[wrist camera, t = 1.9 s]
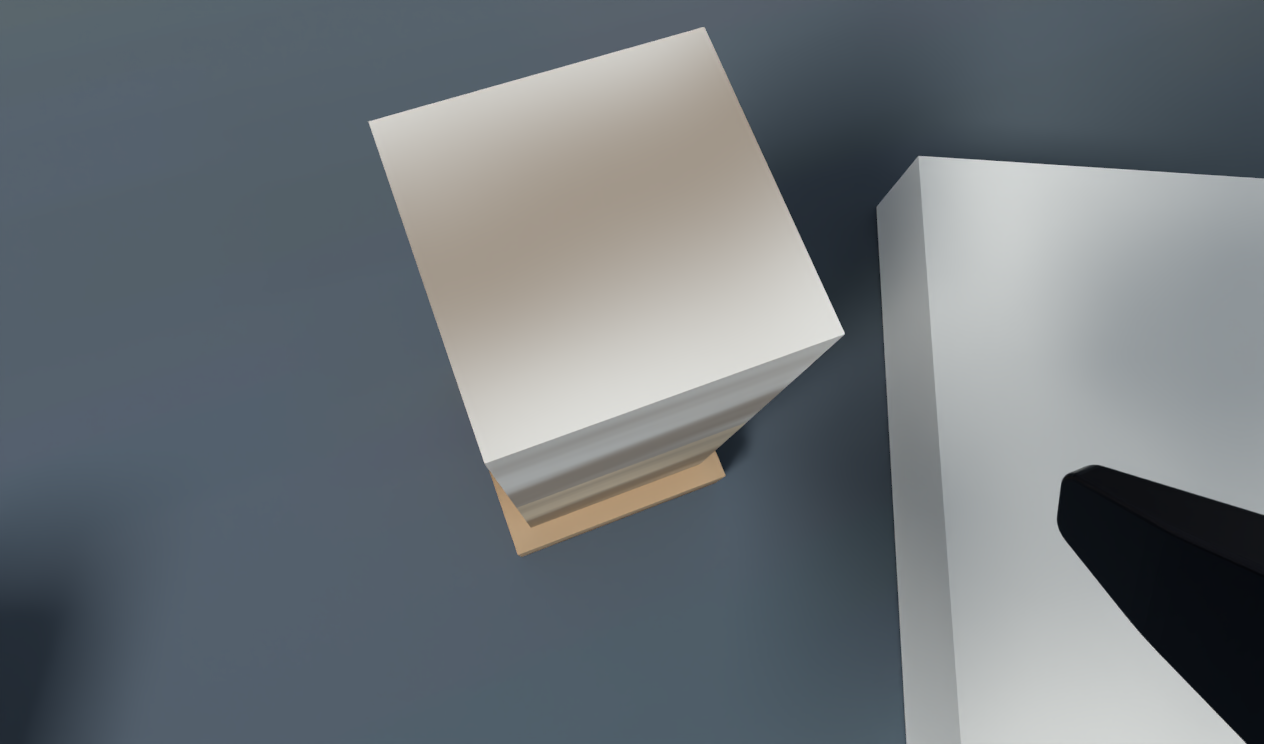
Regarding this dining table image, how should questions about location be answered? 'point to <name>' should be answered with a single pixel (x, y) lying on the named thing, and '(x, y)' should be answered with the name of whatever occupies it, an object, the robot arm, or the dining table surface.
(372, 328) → the dining table surface
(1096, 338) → the dock
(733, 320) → the beige tall block
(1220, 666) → the robot arm
